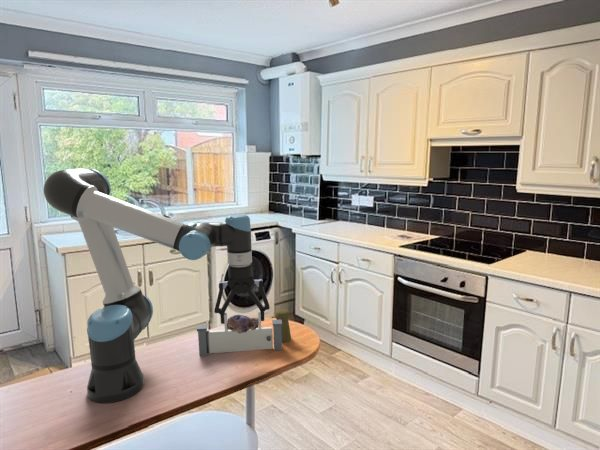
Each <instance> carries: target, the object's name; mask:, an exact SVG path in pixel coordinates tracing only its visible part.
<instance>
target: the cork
mask: <svg viewBox="0 0 600 450" xmlns="http://www.w3.org/2000/svg"><path fill="white" fill-rule="evenodd" d="M290 315H291V314H290V312H289V310H288V309H278V310H276V312H275V315H274V316H275V320H282V326H281V331H282V344H286V343H289V342H291V340H292V336H291V335H292V334H291V329H290V324H289V323H290V322H289V319H290Z"/></svg>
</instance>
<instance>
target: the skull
mask: <svg viewBox="0 0 600 450" xmlns="http://www.w3.org/2000/svg"><path fill="white" fill-rule="evenodd" d="M256 328H259V323H258V317H249V316H247V315H243V314H234V315H233V316H230V317H229V318H227V329H228V330H231V331H233V332H235V331H236V332H238V333H239V334H241V333H244V332H247V331H248V330H249V329H251V330H255V329H256Z"/></svg>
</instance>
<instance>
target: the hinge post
mask: <svg viewBox="0 0 600 450" xmlns="http://www.w3.org/2000/svg"><path fill="white" fill-rule="evenodd" d="M208 326H209V325H208V324H207V323H206V324H203V323H202V324H197V326H196V332H197V335H198V336H197V337H198V339H197V340H198V353H199V357H204V356H205V357H206V356H208V353H207V337H206V331H208Z"/></svg>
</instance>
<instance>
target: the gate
mask: <svg viewBox="0 0 600 450" xmlns="http://www.w3.org/2000/svg"><path fill="white" fill-rule="evenodd" d="M206 337H207V355H209V354H219V353H233V352H245V351H246V352H247V351H261V350H262V351H263V350H273V349H274V337H273V326H268V327H267V326H266V327H265V326H264V327H261V332H259V327H258V328H256V329H255V330H251V329H249V330H248V331H247V332H244V333H241V334H239V333H238V332H236V331H235V332H233V331H231V330H228V334H227V335H225V329H219V330H207V331H206Z"/></svg>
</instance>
